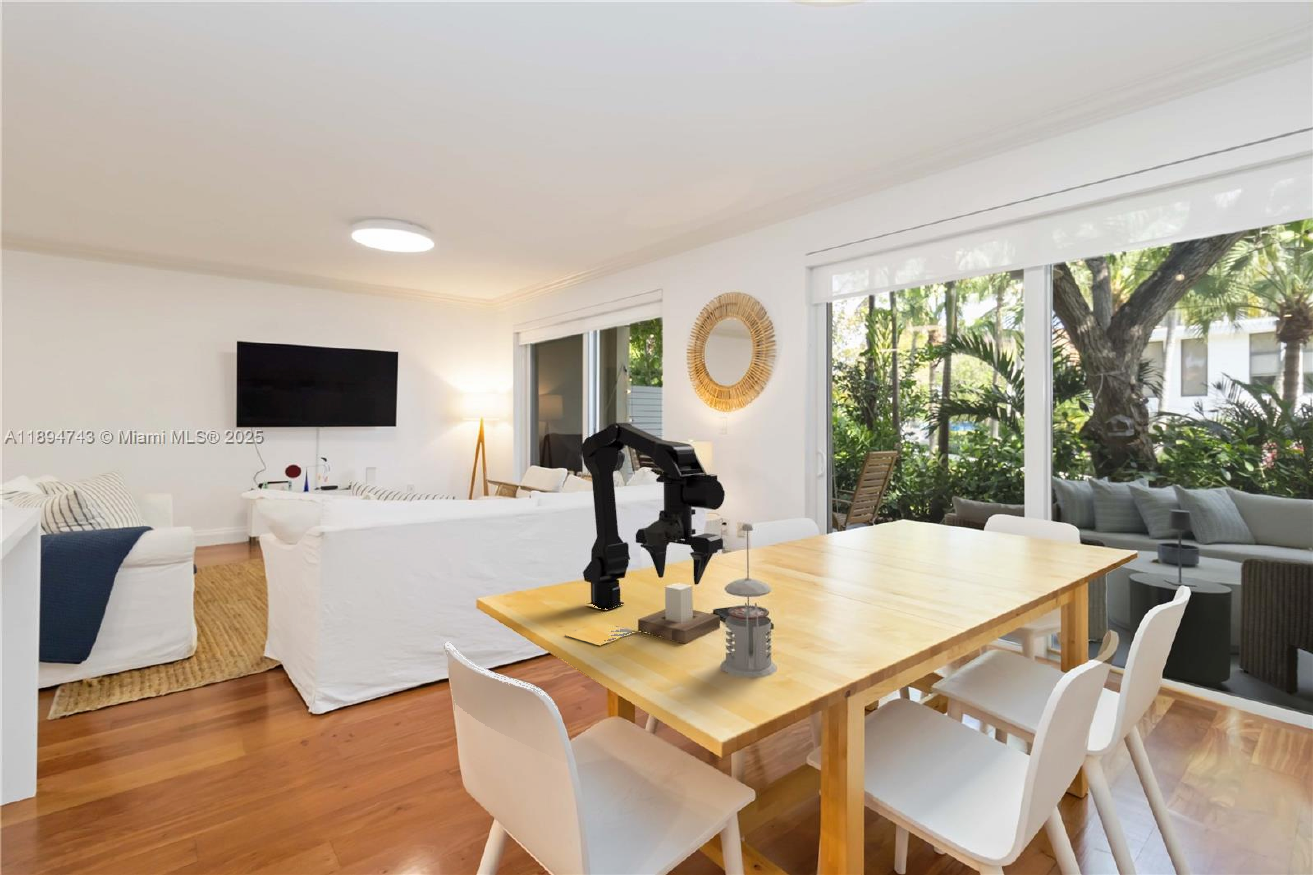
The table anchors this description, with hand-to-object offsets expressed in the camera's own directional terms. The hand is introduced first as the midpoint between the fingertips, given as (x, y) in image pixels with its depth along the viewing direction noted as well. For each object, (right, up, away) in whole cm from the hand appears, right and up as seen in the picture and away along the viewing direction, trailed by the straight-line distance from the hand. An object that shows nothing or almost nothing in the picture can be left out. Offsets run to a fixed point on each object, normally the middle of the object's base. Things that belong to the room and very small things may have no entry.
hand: (678, 580), depth 130 cm
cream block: (0, -10, 0) cm, 10 cm away
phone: (+14, -10, +6) cm, 18 cm away
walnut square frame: (0, -10, 0) cm, 10 cm away
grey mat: (-16, -10, -2) cm, 19 cm away
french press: (+12, -11, -21) cm, 26 cm away
